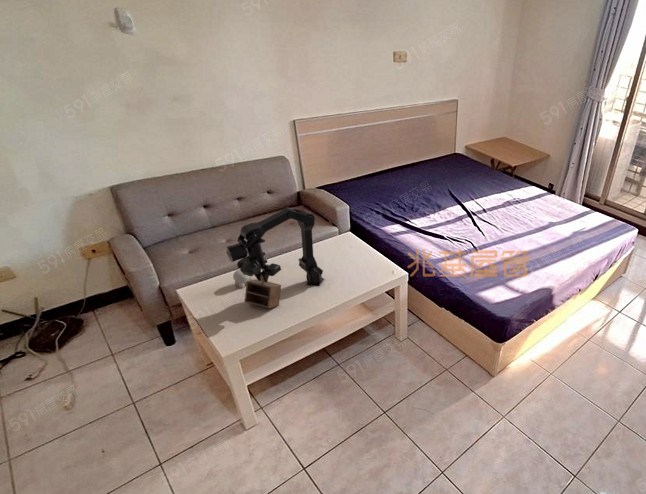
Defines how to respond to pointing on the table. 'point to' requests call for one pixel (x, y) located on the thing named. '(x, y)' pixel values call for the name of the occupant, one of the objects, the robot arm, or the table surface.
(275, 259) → the table surface
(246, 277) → the toy rhinoceros
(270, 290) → the shelf
